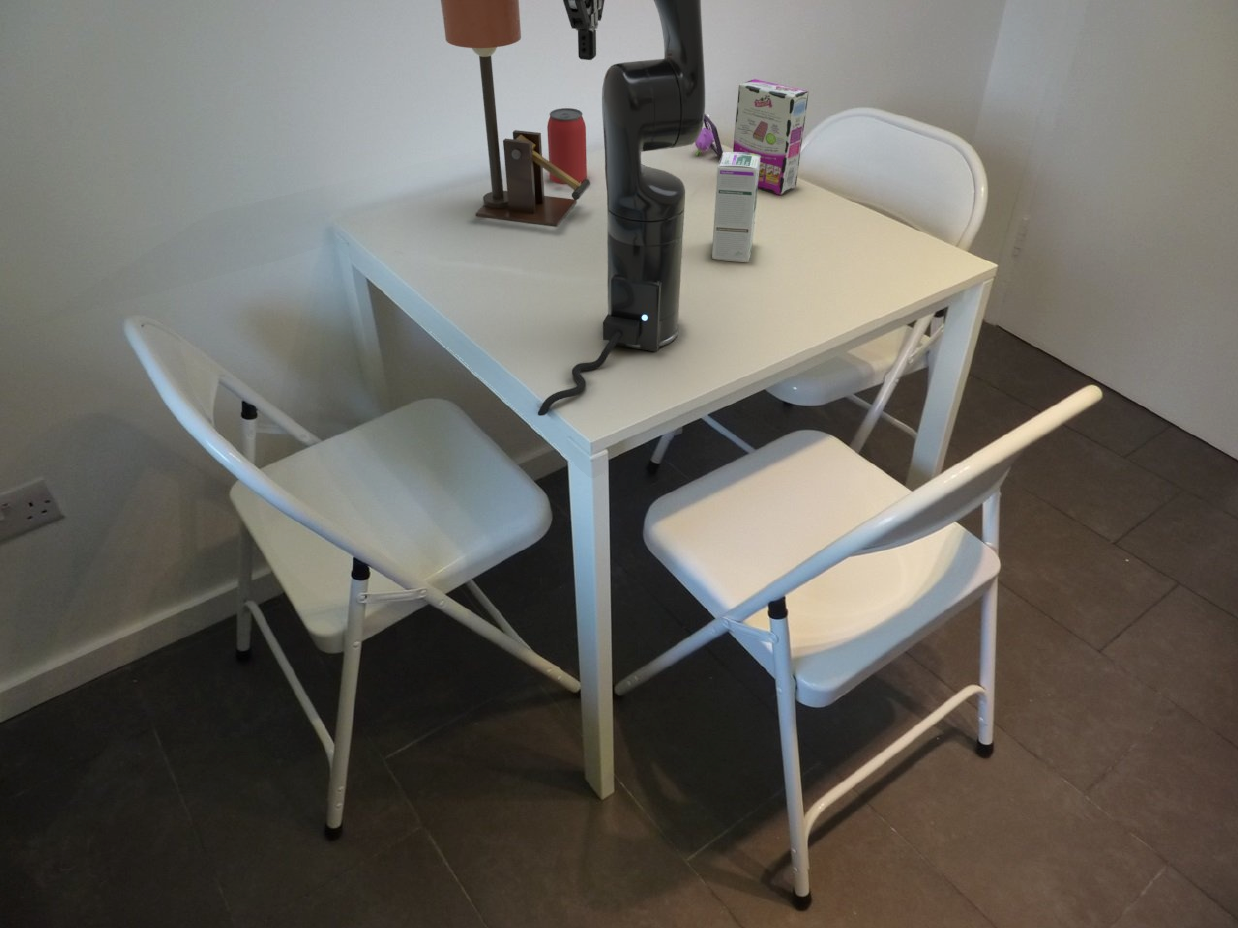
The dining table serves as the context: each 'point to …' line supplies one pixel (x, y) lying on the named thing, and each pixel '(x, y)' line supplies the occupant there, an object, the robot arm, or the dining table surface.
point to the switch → (559, 173)
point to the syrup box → (735, 206)
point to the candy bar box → (771, 131)
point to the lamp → (485, 63)
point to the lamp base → (527, 186)
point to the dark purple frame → (708, 138)
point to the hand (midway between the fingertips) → (587, 58)
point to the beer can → (567, 143)
